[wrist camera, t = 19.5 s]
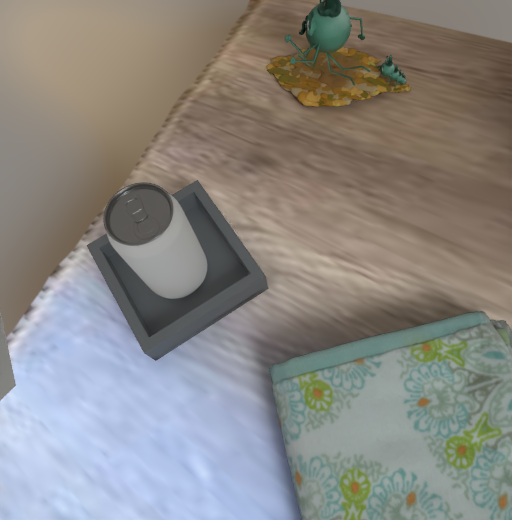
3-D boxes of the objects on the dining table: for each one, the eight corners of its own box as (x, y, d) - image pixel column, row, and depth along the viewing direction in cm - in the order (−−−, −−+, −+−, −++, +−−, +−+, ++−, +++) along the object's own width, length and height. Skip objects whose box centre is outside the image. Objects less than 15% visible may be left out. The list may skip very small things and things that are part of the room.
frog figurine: (391, 137, 53) (400, 24, 40) (253, 103, 59) (221, -4, 46) (420, 76, 56) (437, -49, 43) (285, 49, 62) (264, -66, 49)
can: (163, 312, 46) (118, 265, 35) (135, 262, 49) (85, 203, 38) (220, 278, 47) (193, 222, 36) (189, 230, 49) (156, 164, 38)
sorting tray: (204, 197, 52) (197, 180, 49) (268, 288, 47) (265, 275, 44) (100, 259, 50) (86, 245, 47) (155, 360, 45) (144, 352, 42)
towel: (583, 534, 37) (623, 544, 32) (320, 597, 37) (322, 617, 32) (487, 317, 44) (508, 299, 40) (268, 370, 44) (263, 359, 40)
